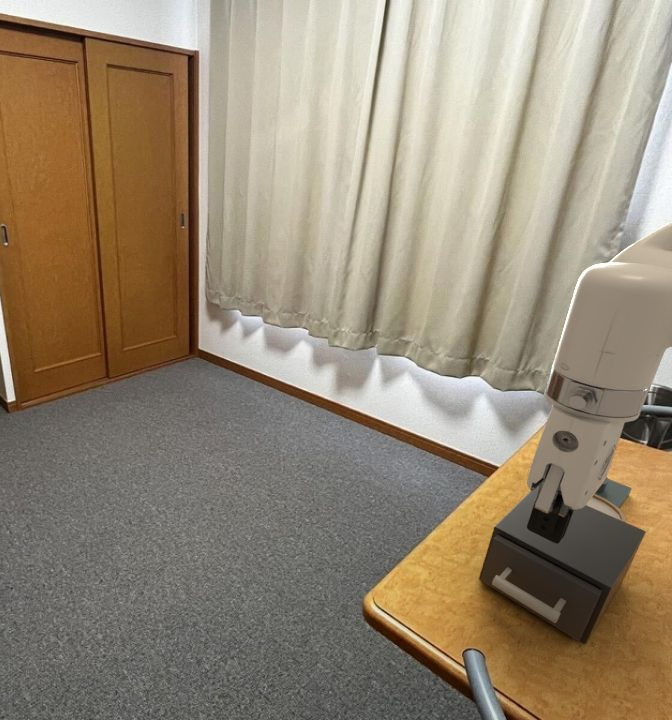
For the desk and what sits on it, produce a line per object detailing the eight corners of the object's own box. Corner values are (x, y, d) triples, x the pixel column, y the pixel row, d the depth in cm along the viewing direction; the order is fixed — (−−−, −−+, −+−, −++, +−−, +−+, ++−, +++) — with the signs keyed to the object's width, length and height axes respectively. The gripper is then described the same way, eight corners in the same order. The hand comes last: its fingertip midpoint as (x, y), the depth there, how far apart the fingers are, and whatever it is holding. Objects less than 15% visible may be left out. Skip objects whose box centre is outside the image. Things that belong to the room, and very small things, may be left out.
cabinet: (585, 644, 58) (611, 588, 55) (478, 578, 68) (494, 526, 64) (621, 584, 66) (646, 531, 63) (521, 532, 76) (537, 483, 72)
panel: (628, 495, 83) (635, 479, 82) (612, 518, 78) (619, 501, 77) (549, 463, 92) (554, 448, 91) (530, 482, 87) (535, 466, 86)
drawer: (566, 660, 56) (587, 614, 53) (467, 595, 64) (480, 551, 61) (613, 585, 65) (632, 541, 62) (521, 536, 74) (534, 496, 70)
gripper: (619, 432, 40) (559, 589, 47) (663, 381, 48) (605, 522, 55) (520, 400, 46) (479, 545, 53) (574, 359, 54) (533, 490, 61)
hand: (544, 533), depth 54 cm, fingers closed
